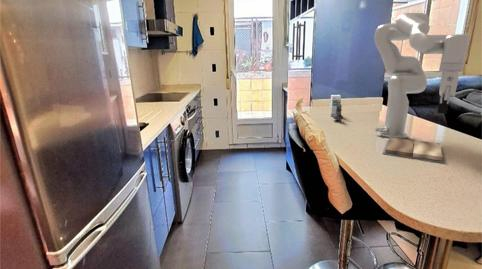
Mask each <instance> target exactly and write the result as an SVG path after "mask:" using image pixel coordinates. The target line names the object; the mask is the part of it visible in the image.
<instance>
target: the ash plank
mask: <svg viewBox="0 0 482 269" xmlns="http://www.w3.org/2000/svg"><path fill="white" fill-rule="evenodd" d="M413 141H414V142H413V143H414V148H413V157H419V158H426V159H434V160H441V161H442V158H443V157H444V155H443V156H442V152H443V150H442V151H441V147H442V145H441V143H440V142H434V141H424V140H422V141H421V140H413Z"/></svg>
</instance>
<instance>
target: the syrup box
mask: <svg viewBox="0 0 482 269" xmlns="http://www.w3.org/2000/svg"><path fill="white" fill-rule="evenodd" d="M341 100H342V95H341V94H331V95H330V104H329V116H330V117H332V118H334V115H336V109H337V105H338V104H339V103H340V104H341Z"/></svg>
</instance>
